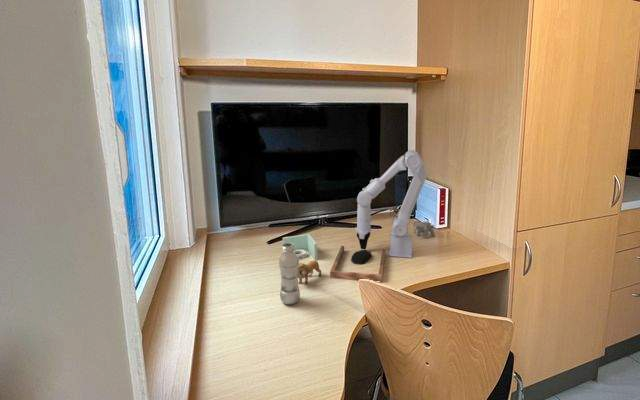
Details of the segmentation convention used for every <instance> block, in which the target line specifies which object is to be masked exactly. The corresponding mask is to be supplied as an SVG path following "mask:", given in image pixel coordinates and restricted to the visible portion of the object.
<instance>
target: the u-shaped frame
mask: <svg viewBox="0 0 640 400" xmlns="http://www.w3.org/2000/svg"><path fill="white" fill-rule="evenodd" d="M344 253H345V246H344V245H341V246H340V248H339V251H338V252H337V256H336V257H335V259H334V262H333V265H332V266H331V269H330V271H329V278H330V279H339V280H352V281H359V279H369V280H373V281H380V282H379V283H381V282H382V280H383V275H384V266H385V261H386V260H385V258H386V248H382V251H381V256H380V264H379V269H378V274H377V273H367V272H365V273H364V272H356V271H355V272H353V271H344V270H338V267H339V265H340V262H341V261H342V258H343V256H344Z"/></svg>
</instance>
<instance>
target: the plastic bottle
mask: <svg viewBox="0 0 640 400" xmlns="http://www.w3.org/2000/svg"><path fill="white" fill-rule="evenodd" d="M281 247H282V249H281V252H282V253H281V255H280V257H279V258H278V267H279V270H280V280H281V281H280V282H281V283H280V291H279V297H280V301H281V302H282V304H285V305H295V304H297V303H298V302H299V300H300V298H301V292H300V288H299V287H300V286H299V283H298V282H299V280H298V279H299V278H298V266H299V263H300V259H298V257H297V255H298V254H297V255H296V254H295V253H294V245H293V244H291V243H286V244H283V243H282V246H281Z"/></svg>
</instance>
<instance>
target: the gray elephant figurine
mask: <svg viewBox="0 0 640 400" xmlns="http://www.w3.org/2000/svg"><path fill="white" fill-rule="evenodd" d="M413 227H414V228H415V229H414V231H413V234H416V236H420V234H424V239H429V238H430V235H429V233H430V234H431V236H432V237H435V236H436V233H435V231H434V227H435V226H434V224H432V223H431V222H428V221H420V222H419V221H417V220H416V221H414V222H413Z"/></svg>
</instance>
